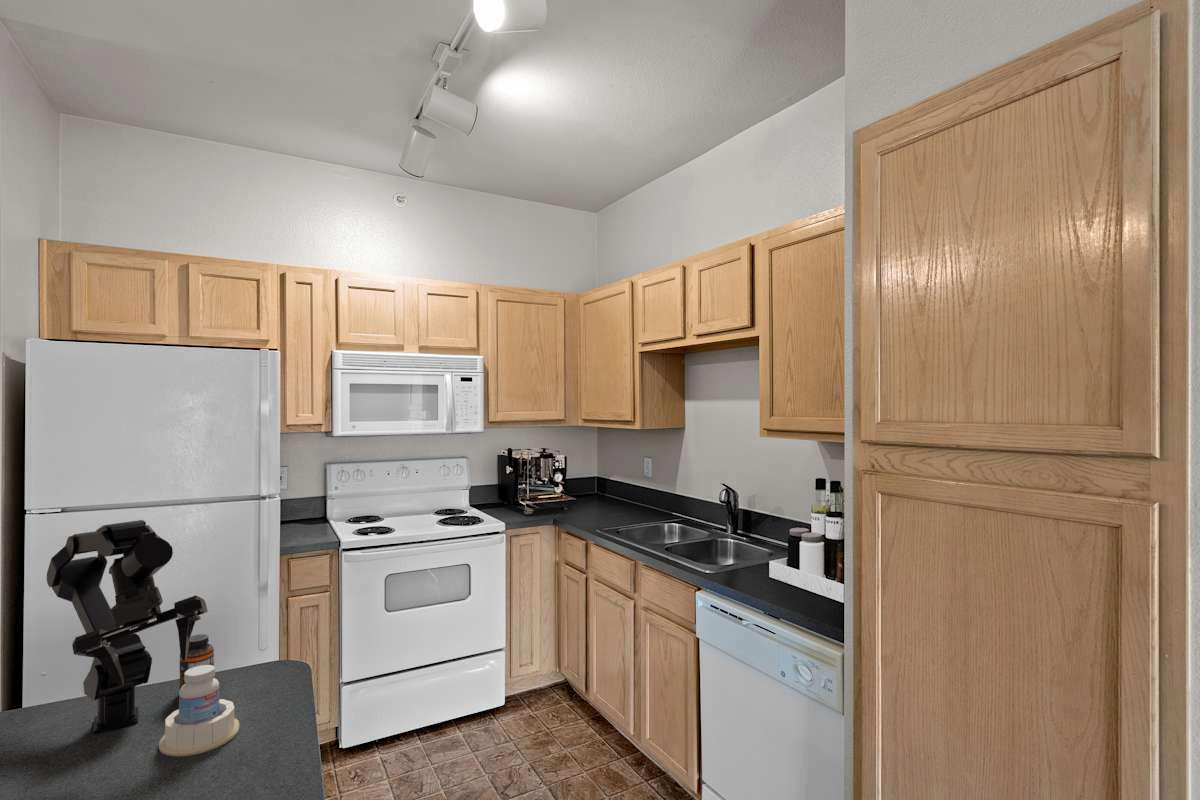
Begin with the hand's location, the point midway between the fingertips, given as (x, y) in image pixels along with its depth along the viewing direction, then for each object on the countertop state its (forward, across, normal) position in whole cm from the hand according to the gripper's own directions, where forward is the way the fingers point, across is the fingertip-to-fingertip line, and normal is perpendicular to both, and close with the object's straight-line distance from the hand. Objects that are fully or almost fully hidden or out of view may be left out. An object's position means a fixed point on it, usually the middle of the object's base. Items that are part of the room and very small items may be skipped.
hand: (153, 672), depth 106 cm
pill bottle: (+13, +3, +5) cm, 14 cm away
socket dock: (+13, +3, +5) cm, 15 cm away
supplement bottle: (+4, +1, +24) cm, 24 cm away
